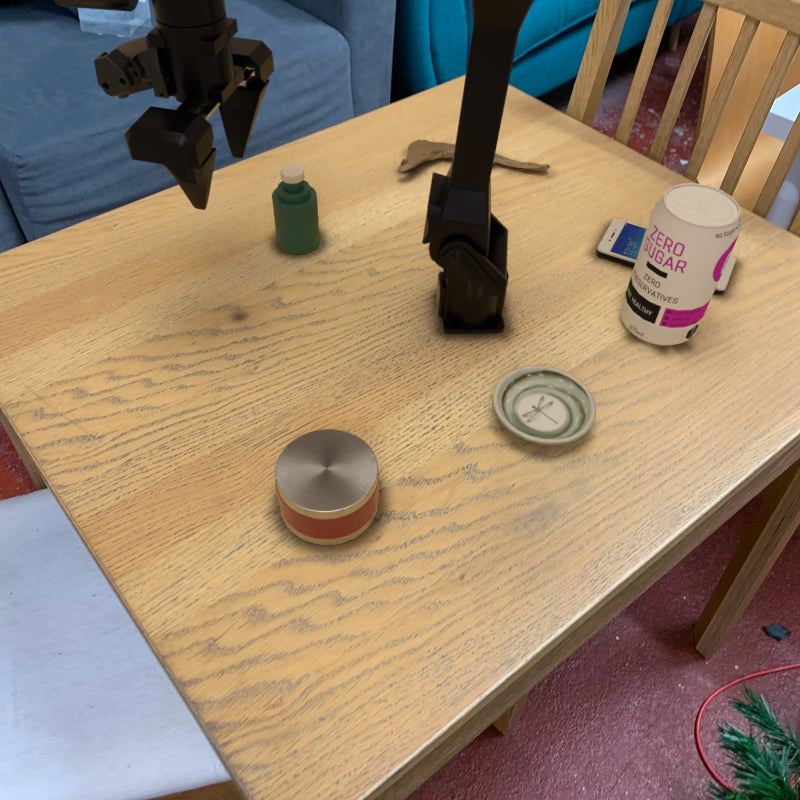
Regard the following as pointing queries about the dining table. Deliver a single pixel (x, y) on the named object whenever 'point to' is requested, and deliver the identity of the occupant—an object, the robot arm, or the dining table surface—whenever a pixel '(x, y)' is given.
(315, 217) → the bottle
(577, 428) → the saucer
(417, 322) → the dining table surface
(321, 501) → the tin
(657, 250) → the supplement can
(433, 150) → the jawbone
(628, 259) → the smartphone
